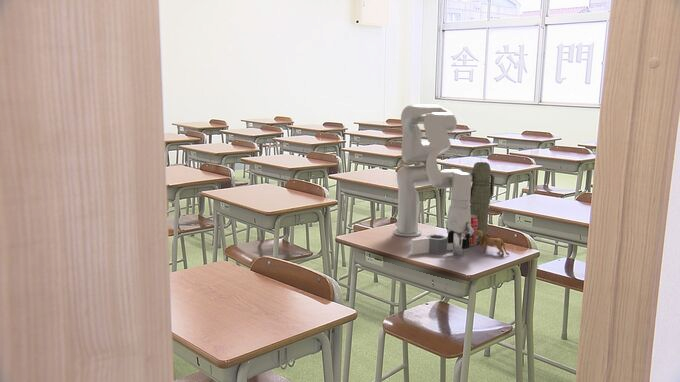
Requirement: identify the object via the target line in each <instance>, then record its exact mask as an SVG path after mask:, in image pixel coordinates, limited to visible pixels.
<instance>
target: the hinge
mask: <svg viewBox="0 0 680 382" xmlns="http://www.w3.org/2000/svg"><path fill="white" fill-rule="evenodd" d="M410 246H411V247H410V254H411V255H412V256H413V255H420V254H428V253H429V254H434V255H441V254H446V253H447V251H453V243H448V234H447V235H443V234H435V233H434V234H428V235H427V236H426V237H422V238H414V239H413V238H412V239H411V244H410Z"/></svg>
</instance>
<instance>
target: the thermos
mask: <svg viewBox="0 0 680 382" xmlns="http://www.w3.org/2000/svg"><path fill="white" fill-rule="evenodd" d="M470 174H471V195H470V212H471V214H473V215H476V216H477V219H478V229H477V230H481V231H483V232H485V233H486V234H488V235H489V231H490V230H489V229H490V228H489V225H488V224H489V223H488V222H489V209H490V207H489V206H490V204H491V198H492V197H494V192H495V179H496V178H495V175H494V174H493V173H492V172H491V166H490V163H488V162H486V161H477V162H475V163H474V165H473V167H472V171H471V173H470ZM476 245H480V244H479V243H478V242H477V244H476Z"/></svg>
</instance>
